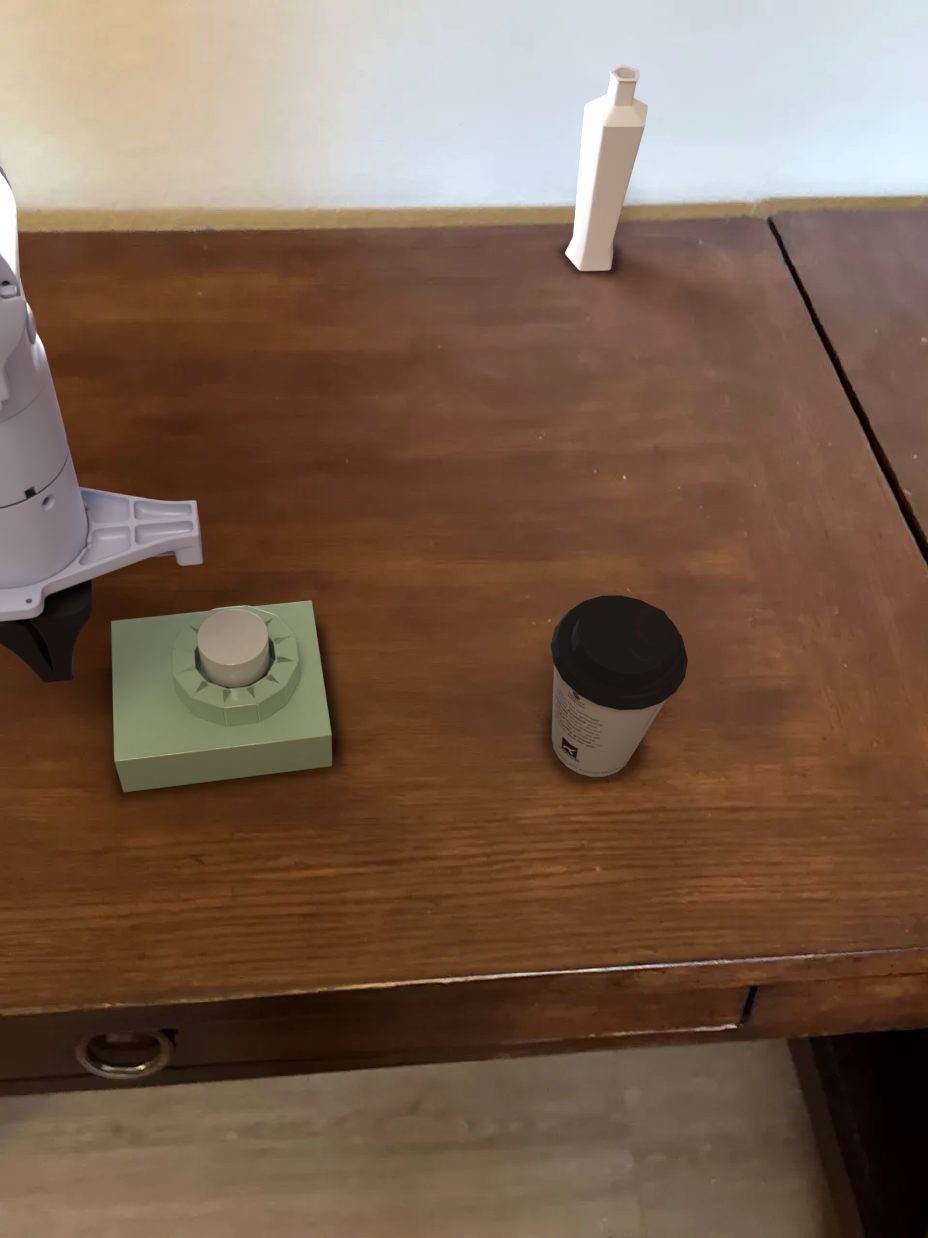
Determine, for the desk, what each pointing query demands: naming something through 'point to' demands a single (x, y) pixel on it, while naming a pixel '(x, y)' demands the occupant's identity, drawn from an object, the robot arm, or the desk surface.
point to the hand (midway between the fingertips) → (58, 664)
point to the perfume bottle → (606, 169)
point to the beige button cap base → (216, 703)
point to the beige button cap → (233, 647)
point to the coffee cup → (611, 680)
